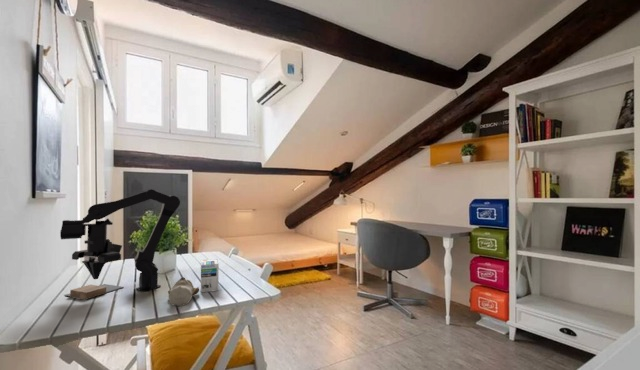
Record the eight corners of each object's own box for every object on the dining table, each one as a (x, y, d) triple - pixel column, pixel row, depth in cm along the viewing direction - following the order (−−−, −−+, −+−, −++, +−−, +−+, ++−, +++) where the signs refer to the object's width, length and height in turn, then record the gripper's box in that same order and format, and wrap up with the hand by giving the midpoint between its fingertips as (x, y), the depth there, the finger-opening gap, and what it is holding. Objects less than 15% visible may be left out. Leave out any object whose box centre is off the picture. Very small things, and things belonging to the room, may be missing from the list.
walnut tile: (106, 287, 112) (90, 284, 115) (86, 292, 105) (70, 289, 108) (106, 292, 112) (90, 290, 115) (86, 298, 105) (70, 295, 108)
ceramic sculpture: (162, 283, 96) (170, 274, 110) (160, 310, 95) (169, 297, 110) (196, 280, 99) (200, 272, 114) (195, 306, 98) (200, 295, 113)
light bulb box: (218, 290, 115) (218, 263, 116) (200, 293, 113) (200, 265, 113) (217, 283, 125) (217, 258, 125) (200, 285, 123) (201, 259, 123)
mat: (123, 287, 119) (123, 286, 119) (84, 299, 105) (84, 298, 105) (104, 284, 123) (104, 283, 123) (64, 296, 109) (64, 294, 109)
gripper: (135, 235, 114) (134, 275, 113) (102, 233, 120) (101, 271, 119) (105, 239, 103) (104, 283, 103) (71, 237, 110) (70, 278, 109)
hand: (95, 279), depth 109 cm, fingers closed
